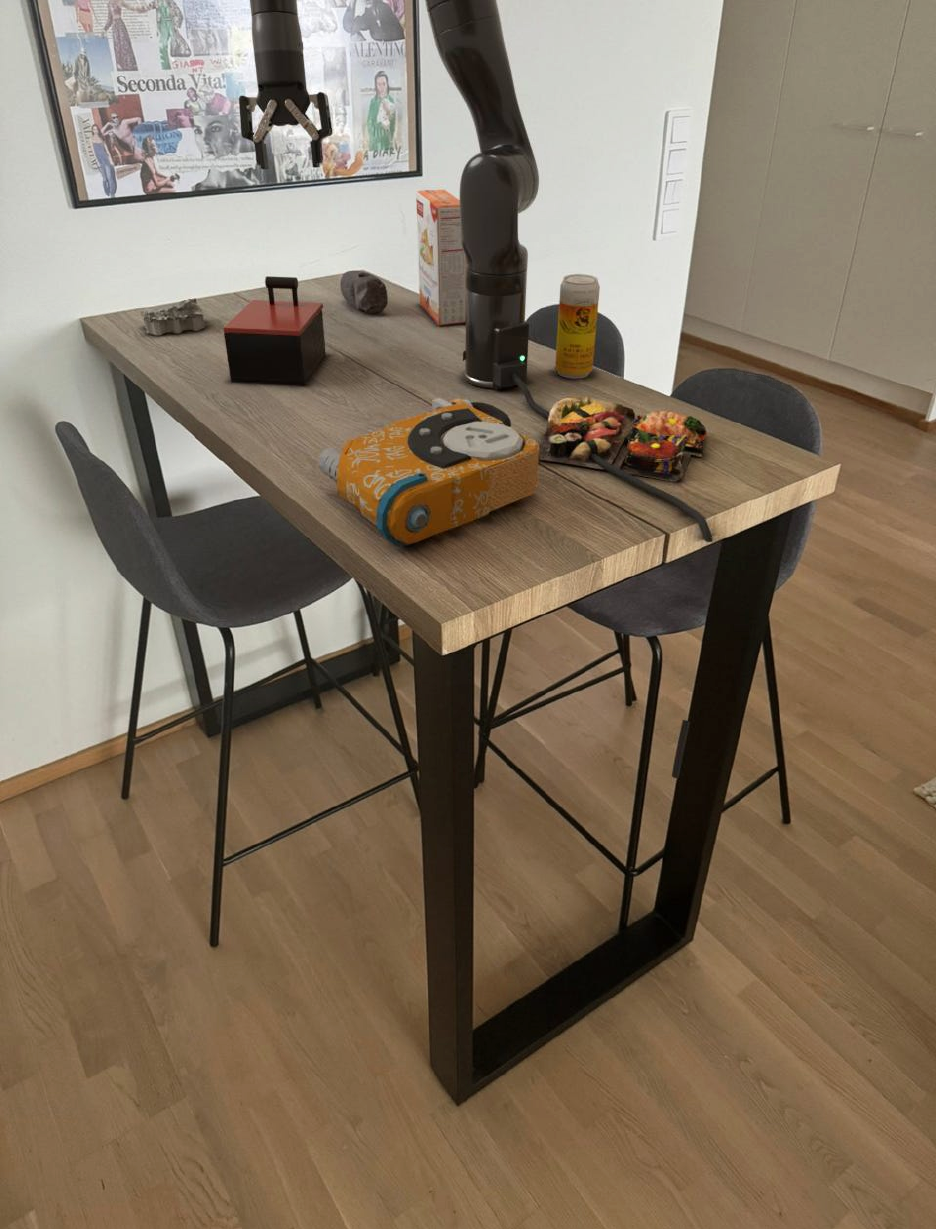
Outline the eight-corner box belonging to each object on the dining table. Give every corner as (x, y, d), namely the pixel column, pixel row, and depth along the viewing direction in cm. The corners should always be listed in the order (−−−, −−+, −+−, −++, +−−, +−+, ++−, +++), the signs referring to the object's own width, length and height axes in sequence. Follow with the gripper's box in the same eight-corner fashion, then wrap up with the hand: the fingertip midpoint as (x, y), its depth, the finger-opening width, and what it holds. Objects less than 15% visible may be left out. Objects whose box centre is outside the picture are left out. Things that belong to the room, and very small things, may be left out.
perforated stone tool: (333, 300, 179) (330, 263, 175) (357, 296, 181) (354, 260, 177) (366, 320, 168) (363, 282, 164) (390, 316, 171) (389, 278, 167)
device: (283, 427, 108) (475, 372, 123) (290, 489, 112) (474, 429, 128) (390, 497, 93) (592, 425, 109) (394, 564, 98) (587, 486, 114)
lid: (252, 304, 150) (248, 272, 147) (323, 307, 149) (320, 275, 146) (223, 332, 138) (218, 298, 134) (299, 336, 136) (296, 301, 133)
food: (526, 459, 120) (527, 434, 118) (562, 408, 134) (564, 385, 132) (691, 485, 114) (696, 460, 112) (710, 430, 128) (714, 406, 126)
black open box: (257, 352, 153) (251, 306, 149) (325, 355, 152) (322, 309, 148) (230, 382, 142) (223, 333, 138) (304, 385, 141) (299, 336, 137)
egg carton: (202, 319, 168) (198, 297, 166) (207, 331, 162) (204, 308, 160) (143, 325, 165) (138, 302, 163) (146, 337, 159) (141, 314, 157)
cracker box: (417, 305, 176) (414, 190, 164) (446, 303, 178) (446, 188, 166) (436, 327, 166) (435, 205, 153) (468, 324, 167) (468, 203, 155)
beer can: (562, 381, 144) (569, 285, 135) (549, 368, 148) (555, 274, 140) (597, 377, 145) (606, 282, 136) (583, 365, 150) (591, 272, 141)
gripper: (225, 50, 135) (240, 169, 142) (318, 45, 134) (328, 166, 141) (241, 56, 142) (254, 170, 149) (329, 52, 141) (338, 167, 148)
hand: (290, 168), depth 145 cm, fingers open, 8 cm apart
